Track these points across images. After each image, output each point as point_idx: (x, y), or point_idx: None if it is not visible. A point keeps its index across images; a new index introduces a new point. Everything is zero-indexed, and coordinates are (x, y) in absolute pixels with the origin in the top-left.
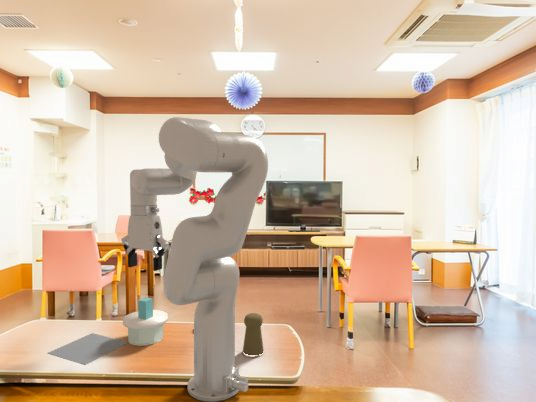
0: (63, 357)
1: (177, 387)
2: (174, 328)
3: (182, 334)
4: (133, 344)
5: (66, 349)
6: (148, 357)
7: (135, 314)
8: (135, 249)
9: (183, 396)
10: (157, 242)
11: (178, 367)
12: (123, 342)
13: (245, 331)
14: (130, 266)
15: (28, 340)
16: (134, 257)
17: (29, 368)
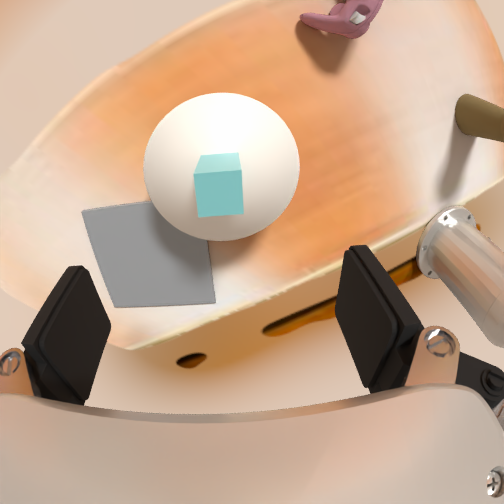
0: (153, 304)
1: (402, 267)
2: (238, 53)
3: (291, 76)
4: None
5: (124, 285)
6: (300, 220)
7: (166, 172)
8: (38, 395)
9: (416, 277)
10: (416, 489)
11: (379, 221)
12: None
13: (491, 130)
14: (109, 326)
15: (38, 287)
16: (70, 341)
17: (145, 336)
